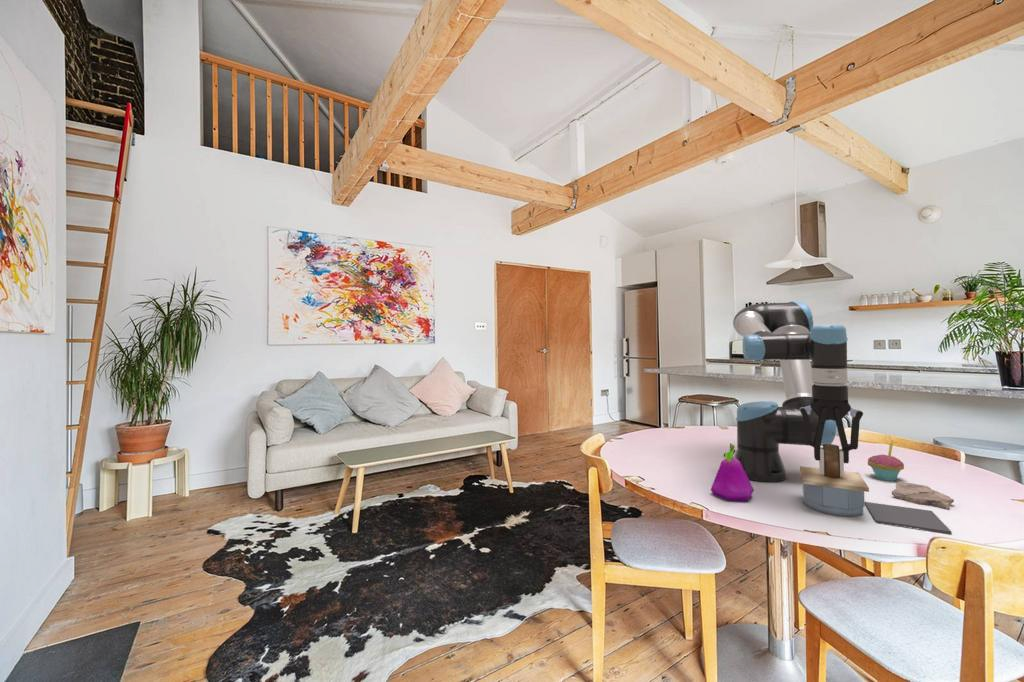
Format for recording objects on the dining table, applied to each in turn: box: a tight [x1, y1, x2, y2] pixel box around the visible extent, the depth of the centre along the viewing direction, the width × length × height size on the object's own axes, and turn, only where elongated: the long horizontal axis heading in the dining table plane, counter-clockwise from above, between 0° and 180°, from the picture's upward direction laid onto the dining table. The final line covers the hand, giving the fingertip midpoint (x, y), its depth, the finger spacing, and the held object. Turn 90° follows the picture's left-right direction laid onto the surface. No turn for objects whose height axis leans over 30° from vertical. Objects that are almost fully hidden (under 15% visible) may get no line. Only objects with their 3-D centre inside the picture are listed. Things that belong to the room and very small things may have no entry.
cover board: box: [799, 443, 870, 493], centre depth 111 cm, size 13×13×9 cm
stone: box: [891, 481, 955, 510], centre depth 115 cm, size 12×12×3 cm
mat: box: [864, 501, 953, 535], centre depth 103 cm, size 13×13×1 cm
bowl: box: [801, 479, 866, 518], centre depth 111 cm, size 12×12×7 cm
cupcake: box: [867, 439, 905, 482], centre depth 131 cm, size 9×8×12 cm
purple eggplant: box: [710, 443, 755, 502], centre depth 120 cm, size 11×11×15 cm
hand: (831, 473), depth 111 cm, fingers closed on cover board, 3 cm apart
